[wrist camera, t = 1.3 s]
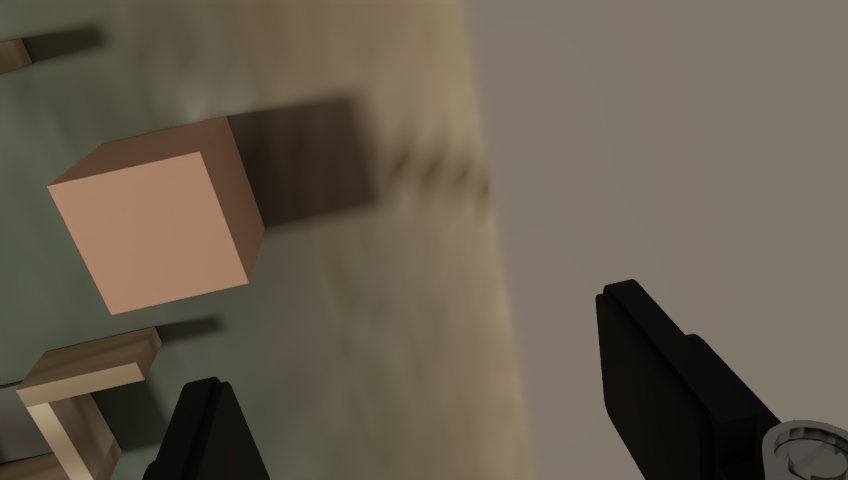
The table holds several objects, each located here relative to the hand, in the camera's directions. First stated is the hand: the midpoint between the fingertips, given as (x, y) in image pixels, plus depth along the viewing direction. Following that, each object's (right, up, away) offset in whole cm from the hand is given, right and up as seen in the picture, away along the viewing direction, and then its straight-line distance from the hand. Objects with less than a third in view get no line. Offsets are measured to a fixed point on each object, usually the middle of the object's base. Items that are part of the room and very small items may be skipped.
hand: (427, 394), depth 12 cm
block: (-11, +5, +16) cm, 20 cm away
